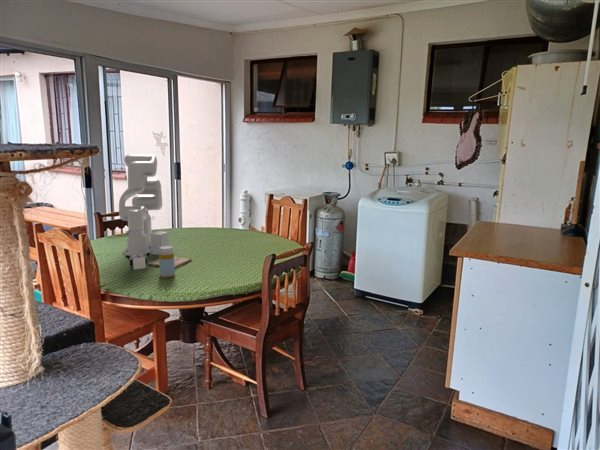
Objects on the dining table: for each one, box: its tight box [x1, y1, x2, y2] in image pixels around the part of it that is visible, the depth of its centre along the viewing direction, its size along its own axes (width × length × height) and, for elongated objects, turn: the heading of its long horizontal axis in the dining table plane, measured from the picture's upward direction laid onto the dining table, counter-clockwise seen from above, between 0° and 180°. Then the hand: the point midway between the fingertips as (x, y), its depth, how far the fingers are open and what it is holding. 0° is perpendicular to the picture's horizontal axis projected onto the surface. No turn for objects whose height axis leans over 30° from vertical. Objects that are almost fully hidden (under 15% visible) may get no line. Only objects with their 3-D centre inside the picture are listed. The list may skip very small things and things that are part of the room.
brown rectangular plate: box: [147, 252, 192, 269], centre depth 227 cm, size 16×16×5 cm
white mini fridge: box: [132, 254, 147, 271], centre depth 220 cm, size 6×7×6 cm
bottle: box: [158, 245, 176, 279], centre depth 206 cm, size 7×7×15 cm
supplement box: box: [150, 230, 170, 256], centre depth 244 cm, size 7×7×13 cm
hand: (138, 265), depth 220 cm, fingers closed on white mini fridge, 5 cm apart
